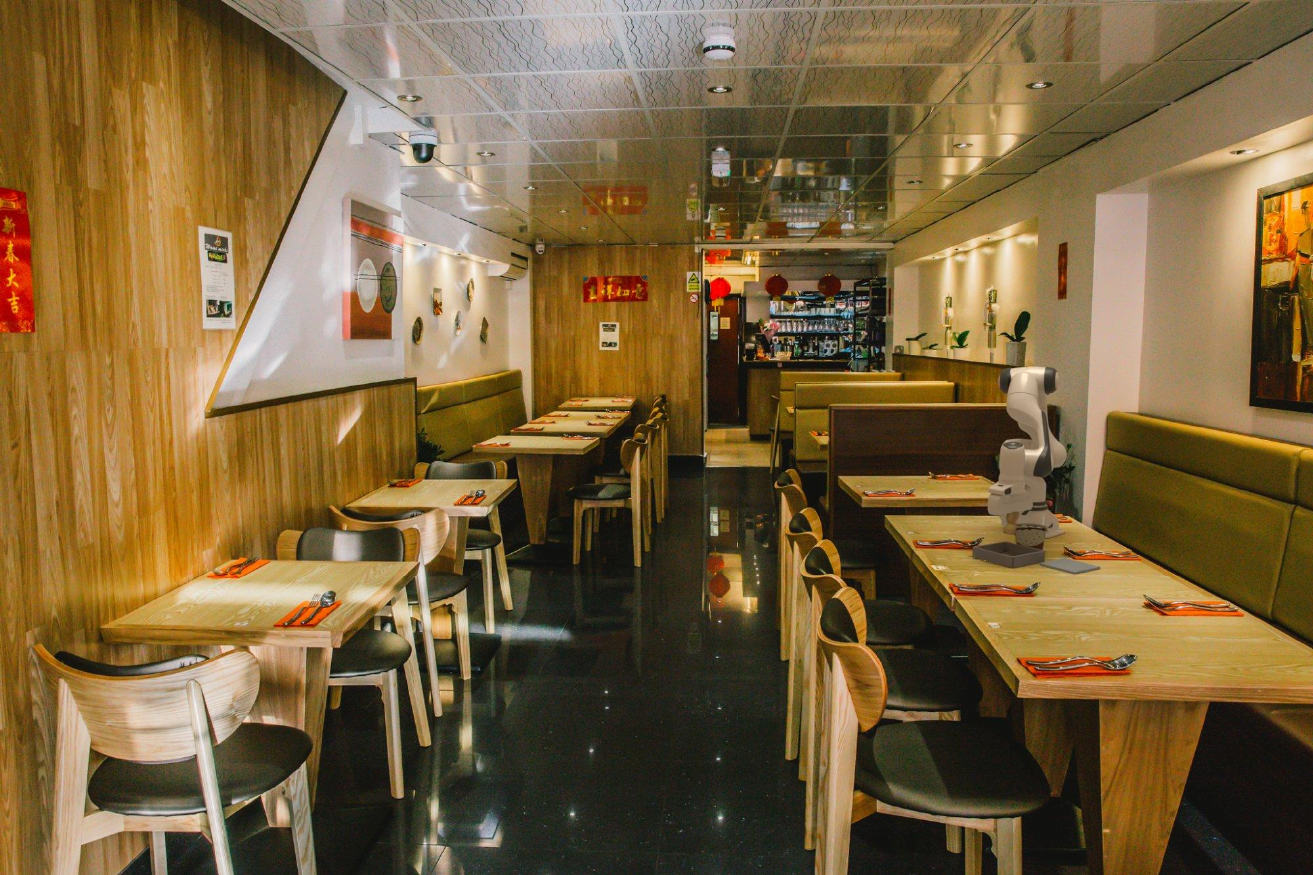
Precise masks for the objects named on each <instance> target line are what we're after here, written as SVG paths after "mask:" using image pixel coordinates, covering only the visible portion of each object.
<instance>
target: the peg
mask: <svg viewBox="0 0 1313 875" xmlns="http://www.w3.org/2000/svg"><path fill="white" fill-rule="evenodd" d="M1006 520H1007V521H1008V525H1006V526H1003V534H1006V535H1015V534H1016V529H1017V512H1013V513H1008V514H1007V516H1006Z"/></svg>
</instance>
